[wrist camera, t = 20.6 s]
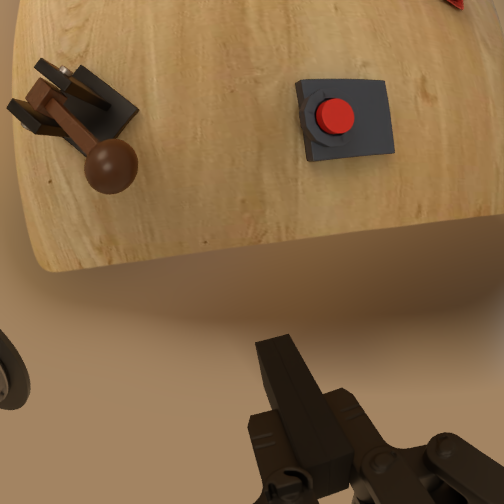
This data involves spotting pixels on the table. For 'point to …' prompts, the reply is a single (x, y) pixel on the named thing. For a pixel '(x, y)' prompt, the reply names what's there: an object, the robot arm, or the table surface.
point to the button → (335, 116)
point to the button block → (365, 118)
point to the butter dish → (457, 3)
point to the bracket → (78, 105)
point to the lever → (88, 142)
